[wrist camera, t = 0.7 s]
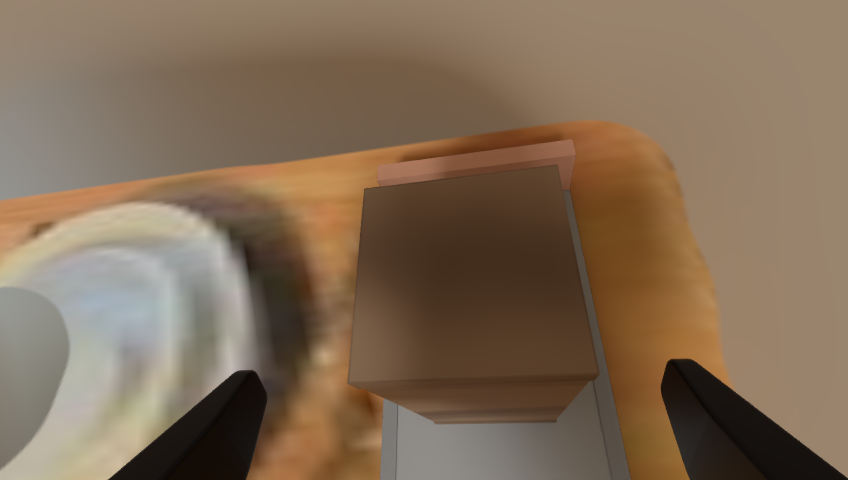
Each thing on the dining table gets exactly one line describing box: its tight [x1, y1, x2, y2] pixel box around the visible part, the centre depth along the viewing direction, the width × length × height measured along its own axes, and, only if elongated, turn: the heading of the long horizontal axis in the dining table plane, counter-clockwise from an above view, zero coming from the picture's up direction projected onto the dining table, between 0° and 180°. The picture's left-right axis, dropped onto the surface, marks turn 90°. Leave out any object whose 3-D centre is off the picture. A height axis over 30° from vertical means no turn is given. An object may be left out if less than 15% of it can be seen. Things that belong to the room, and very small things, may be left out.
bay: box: [377, 139, 631, 480], centre depth 22 cm, size 19×12×4 cm, turn 0°
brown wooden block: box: [347, 164, 600, 425], centre depth 17 cm, size 6×6×13 cm
